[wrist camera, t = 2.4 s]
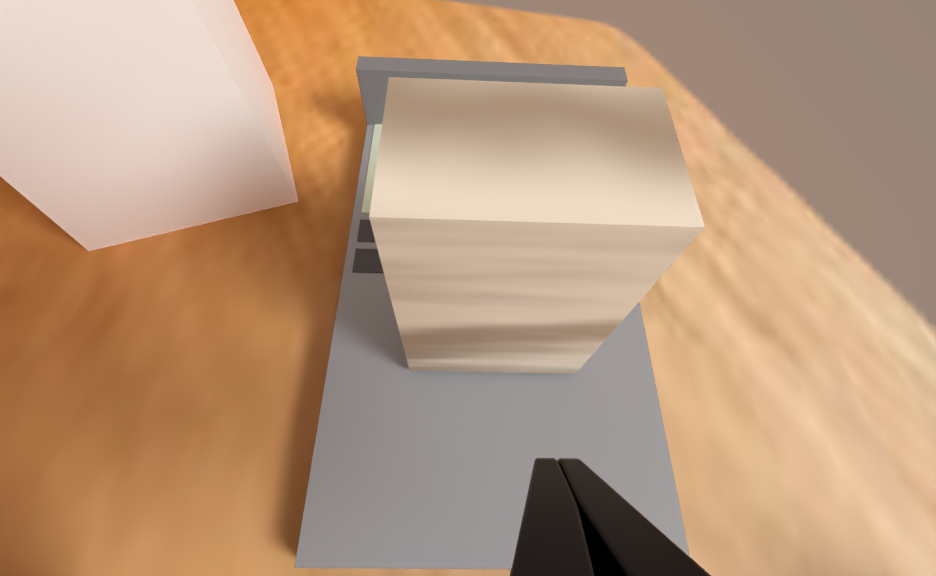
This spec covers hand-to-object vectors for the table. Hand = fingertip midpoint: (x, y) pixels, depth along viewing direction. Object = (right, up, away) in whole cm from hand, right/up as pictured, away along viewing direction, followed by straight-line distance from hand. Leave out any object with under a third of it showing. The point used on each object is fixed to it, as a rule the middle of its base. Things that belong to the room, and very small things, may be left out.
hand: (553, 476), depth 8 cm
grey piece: (0, +3, +16) cm, 17 cm away
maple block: (0, +2, +14) cm, 14 cm away
